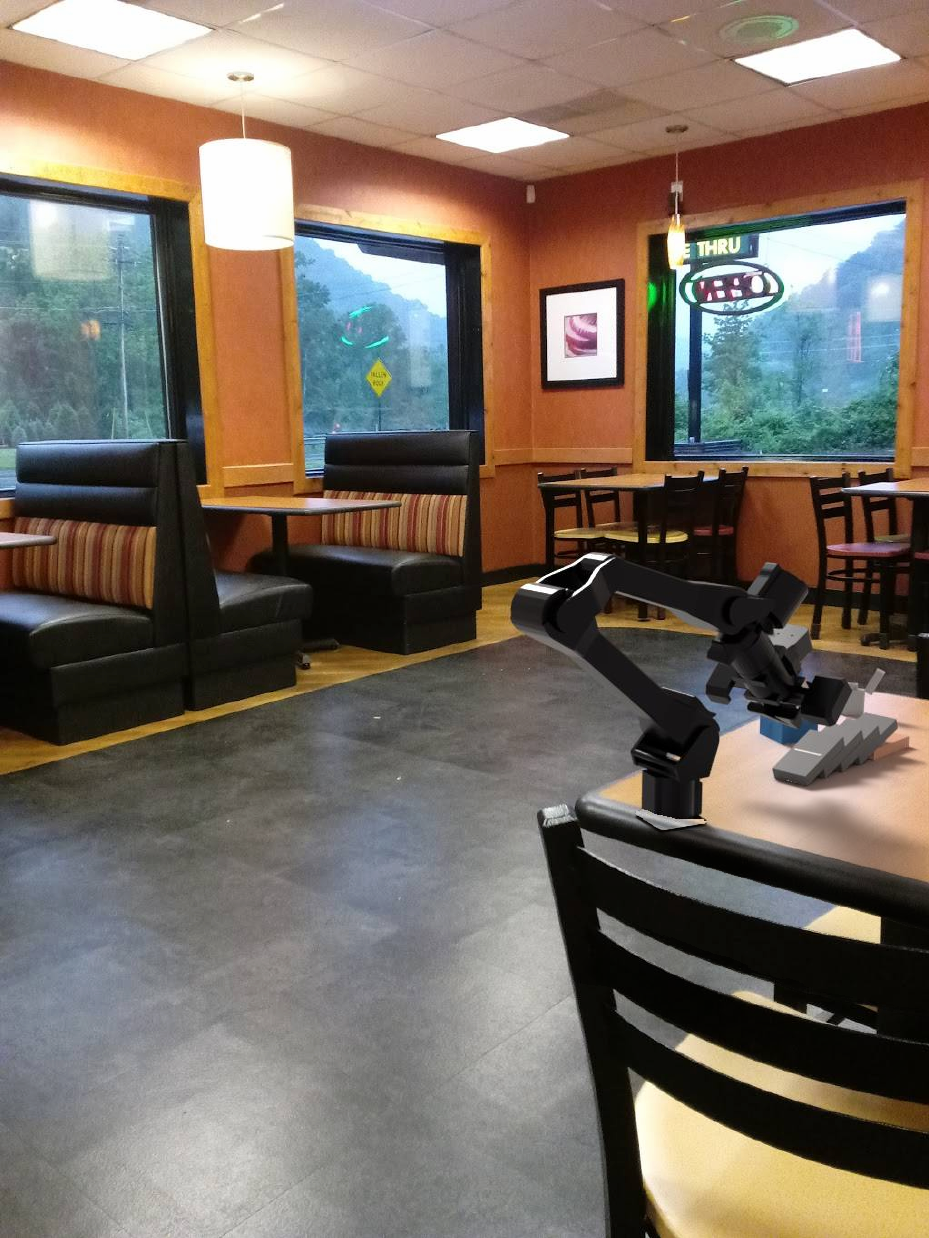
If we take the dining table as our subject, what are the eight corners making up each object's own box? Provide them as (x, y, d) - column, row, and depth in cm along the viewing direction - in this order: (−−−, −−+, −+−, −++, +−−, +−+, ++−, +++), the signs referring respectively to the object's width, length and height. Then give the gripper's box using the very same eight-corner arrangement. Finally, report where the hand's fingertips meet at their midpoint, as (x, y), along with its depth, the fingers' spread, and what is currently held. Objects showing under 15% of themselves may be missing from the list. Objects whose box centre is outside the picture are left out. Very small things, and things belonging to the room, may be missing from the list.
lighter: (836, 713, 177) (838, 666, 175) (837, 711, 178) (840, 664, 177) (881, 718, 174) (884, 670, 172) (882, 715, 175) (885, 668, 174)
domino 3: (841, 762, 146) (878, 724, 151) (808, 754, 150) (846, 718, 155) (842, 772, 146) (880, 734, 152) (810, 764, 150) (848, 727, 155)
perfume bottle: (781, 744, 160) (784, 666, 158) (759, 733, 166) (762, 658, 164) (817, 740, 162) (820, 663, 160) (794, 730, 167) (797, 655, 165)
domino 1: (805, 776, 140) (843, 736, 146) (772, 767, 144) (810, 729, 149) (807, 786, 141) (844, 746, 146) (774, 777, 144) (811, 738, 150)
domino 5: (874, 749, 152) (909, 735, 158) (842, 742, 155) (878, 729, 162) (873, 760, 152) (909, 746, 158) (841, 753, 156) (877, 739, 162)
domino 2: (823, 768, 143) (861, 729, 148) (791, 760, 147) (829, 722, 152) (825, 778, 144) (863, 739, 149) (793, 770, 148) (831, 731, 153)
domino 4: (858, 755, 149) (896, 719, 154) (827, 747, 153) (865, 711, 158) (860, 764, 149) (897, 728, 154) (829, 756, 153) (866, 721, 158)
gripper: (848, 615, 129) (888, 689, 138) (719, 599, 143) (763, 667, 152) (810, 689, 125) (854, 759, 134) (681, 665, 139) (729, 730, 148)
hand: (798, 725), depth 142 cm, fingers closed
